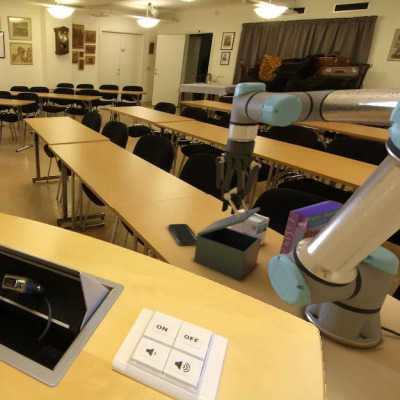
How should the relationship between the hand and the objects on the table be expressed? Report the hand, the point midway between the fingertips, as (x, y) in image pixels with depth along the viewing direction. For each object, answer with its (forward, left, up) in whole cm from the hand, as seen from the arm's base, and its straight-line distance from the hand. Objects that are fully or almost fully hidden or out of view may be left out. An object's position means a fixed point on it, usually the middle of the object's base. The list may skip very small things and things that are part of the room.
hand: (229, 211), depth 103 cm
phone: (+19, -7, -19) cm, 27 cm away
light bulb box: (0, -20, -19) cm, 27 cm away
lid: (0, 0, -4) cm, 4 cm away
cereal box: (-21, -8, -19) cm, 29 cm away
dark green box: (-1, 0, -19) cm, 19 cm away
